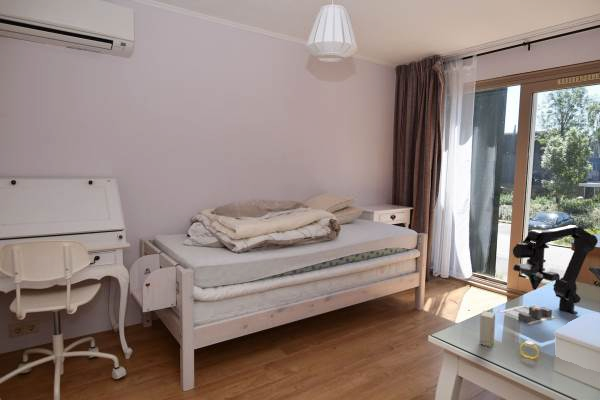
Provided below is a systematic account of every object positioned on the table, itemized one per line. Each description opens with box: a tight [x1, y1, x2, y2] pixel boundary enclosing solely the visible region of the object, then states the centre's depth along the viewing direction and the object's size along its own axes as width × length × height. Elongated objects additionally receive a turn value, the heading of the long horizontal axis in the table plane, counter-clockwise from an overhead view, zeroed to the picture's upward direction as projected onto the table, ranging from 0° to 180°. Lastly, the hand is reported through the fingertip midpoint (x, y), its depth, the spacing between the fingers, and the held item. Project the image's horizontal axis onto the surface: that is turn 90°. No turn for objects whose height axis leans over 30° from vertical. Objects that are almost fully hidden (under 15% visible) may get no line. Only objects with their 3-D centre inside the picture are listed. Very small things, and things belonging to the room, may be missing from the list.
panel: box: [497, 305, 557, 326], centre depth 171 cm, size 18×16×4 cm
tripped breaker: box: [528, 305, 542, 320], centre depth 167 cm, size 3×4×4 cm
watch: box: [519, 340, 540, 360], centre depth 136 cm, size 6×3×6 cm, turn 52°
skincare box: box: [479, 310, 496, 348], centre depth 147 cm, size 6×4×12 cm
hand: (534, 289), depth 174 cm, fingers closed
